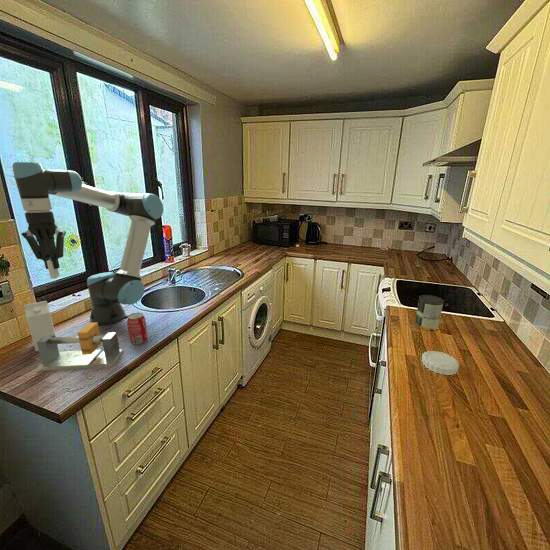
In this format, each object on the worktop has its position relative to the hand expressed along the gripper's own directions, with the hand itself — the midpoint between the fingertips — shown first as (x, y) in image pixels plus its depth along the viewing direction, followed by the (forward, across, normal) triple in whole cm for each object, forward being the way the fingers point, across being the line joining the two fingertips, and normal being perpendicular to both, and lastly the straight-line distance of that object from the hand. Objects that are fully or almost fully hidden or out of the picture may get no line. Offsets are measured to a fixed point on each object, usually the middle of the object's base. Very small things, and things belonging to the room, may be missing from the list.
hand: (55, 277), depth 103 cm
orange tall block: (+26, +11, -7) cm, 29 cm away
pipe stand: (+31, +6, -7) cm, 33 cm away
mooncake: (+33, +139, -28) cm, 145 cm away
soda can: (+32, +23, +5) cm, 40 cm away
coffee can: (+33, +155, +2) cm, 159 cm away
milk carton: (+32, -14, +7) cm, 35 cm away
